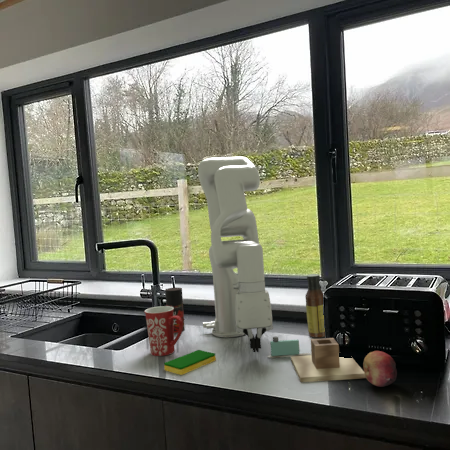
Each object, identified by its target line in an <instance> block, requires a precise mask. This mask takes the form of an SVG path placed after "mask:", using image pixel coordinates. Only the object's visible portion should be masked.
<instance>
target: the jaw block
mask: <svg viewBox="0 0 450 450" xmlns="http://www.w3.org/2000/svg"><path fill="white" fill-rule="evenodd" d="M310 345H311V346H310V349H311V350H310V353H312V362H313V364H314V366H315V368H316V369H325V368H340V362H339V353H340V346H339V345H340V344H339V343H338V342H337V340H336V339H335V338H334V337H326V338H325V337H321V338H311V339H310Z"/></svg>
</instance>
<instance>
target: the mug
mask: <svg viewBox="0 0 450 450" xmlns="http://www.w3.org/2000/svg"><path fill="white" fill-rule="evenodd" d="M173 310H174V308H173V307H170V306H166V305H164V306H163V305H162V306H160V305H159V306H154V307H153V306H152V307H149V308H147V309H145V310H144V314H145V321H146V327H147V335H148V343H149V349H150V350H149V351H150V354H151V355H152V356H155V357H163V356H168V355H172V354H173V353H174V352H175V345H177V343H178V341H179V340H180V338H181V335H182V333H183V332H182V330H183V321H182V319H181V317H179V316H173ZM174 319H176V320H177V321H178V323H179V331H178V333H176V336H175V333H174Z"/></svg>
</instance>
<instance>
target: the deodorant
mask: <svg viewBox="0 0 450 450" xmlns="http://www.w3.org/2000/svg"><path fill="white" fill-rule="evenodd" d="M183 300H184V299H183V287H169V288H165V303H166V305H165V306H170V307H173V308H174V310H173V316H179V317H181V319H182V321H183V330H182V333H183V332H185V318H184V317H185V315H184V314H185V313H184V301H183ZM178 331H179V323H178V321H177V320H176V319H174V334H178Z"/></svg>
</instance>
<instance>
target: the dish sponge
mask: <svg viewBox="0 0 450 450" xmlns="http://www.w3.org/2000/svg"><path fill="white" fill-rule="evenodd" d="M216 360H217V357H216V353H215V352H211V351H206V350H201V349H197V350H195V351H192V352H189V353H187V354H185V355H182V356H179V357H176V358H173V359H171V360H169V361H168V360H167V361H165V362H164V371H167V372H170V373H173V374H177V375H180V376H181V375H186V374H187V373H189V372H192V371H195V370H197V369H199V368H201V367H204V366H207V365H208V364H211V363H214V362H215V361H216Z"/></svg>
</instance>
